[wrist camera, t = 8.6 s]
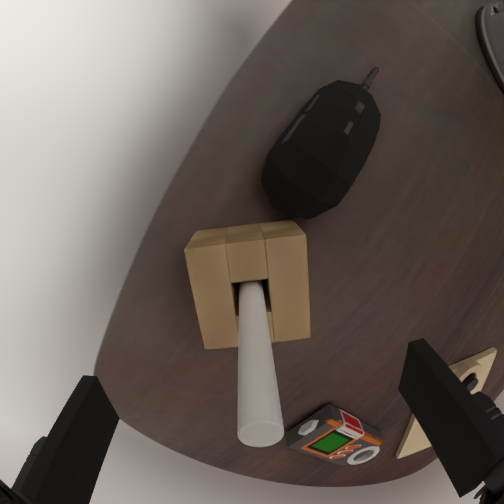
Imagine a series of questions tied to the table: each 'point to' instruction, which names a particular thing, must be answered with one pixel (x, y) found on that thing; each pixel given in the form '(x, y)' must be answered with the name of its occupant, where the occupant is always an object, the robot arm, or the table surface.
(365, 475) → the table surface
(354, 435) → the electronic device
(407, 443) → the plate
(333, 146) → the gaming mouse
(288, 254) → the pen stand
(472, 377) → the button
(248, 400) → the stylus
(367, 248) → the table surface
